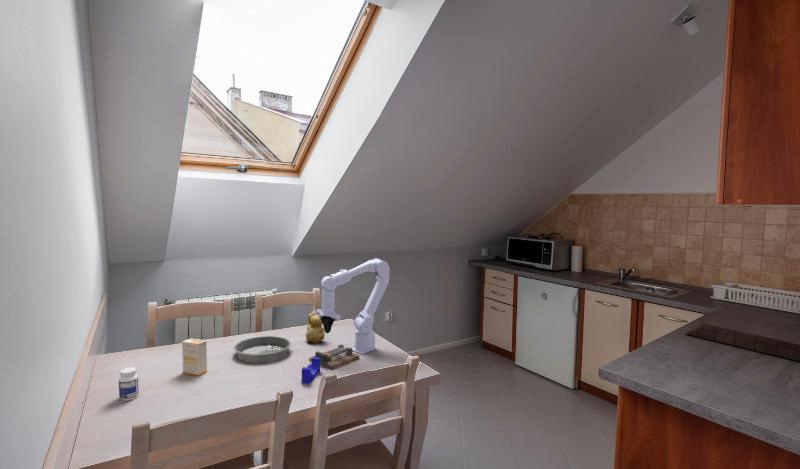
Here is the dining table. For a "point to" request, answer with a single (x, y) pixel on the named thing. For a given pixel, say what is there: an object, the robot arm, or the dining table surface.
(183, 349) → the supplement box
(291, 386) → the dining table surface
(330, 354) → the tan and grey block
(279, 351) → the cake pan
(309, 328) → the decorative figurine
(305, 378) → the cable clip
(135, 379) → the pill bottle
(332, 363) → the clamp board
